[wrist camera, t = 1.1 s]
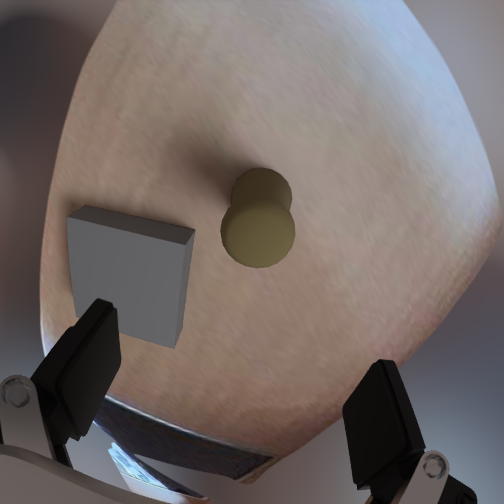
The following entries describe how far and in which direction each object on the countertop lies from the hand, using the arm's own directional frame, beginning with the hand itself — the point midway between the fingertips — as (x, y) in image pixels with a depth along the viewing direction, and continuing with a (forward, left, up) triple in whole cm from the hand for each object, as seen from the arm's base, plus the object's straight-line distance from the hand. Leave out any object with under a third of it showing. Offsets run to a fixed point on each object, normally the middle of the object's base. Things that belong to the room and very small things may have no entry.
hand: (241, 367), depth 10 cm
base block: (+12, -13, -21) cm, 28 cm away
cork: (0, 0, -22) cm, 22 cm away
